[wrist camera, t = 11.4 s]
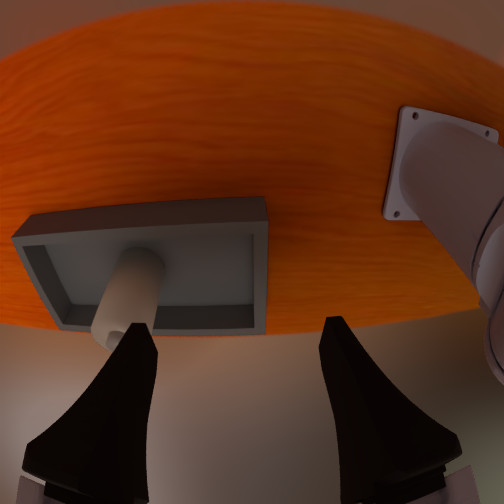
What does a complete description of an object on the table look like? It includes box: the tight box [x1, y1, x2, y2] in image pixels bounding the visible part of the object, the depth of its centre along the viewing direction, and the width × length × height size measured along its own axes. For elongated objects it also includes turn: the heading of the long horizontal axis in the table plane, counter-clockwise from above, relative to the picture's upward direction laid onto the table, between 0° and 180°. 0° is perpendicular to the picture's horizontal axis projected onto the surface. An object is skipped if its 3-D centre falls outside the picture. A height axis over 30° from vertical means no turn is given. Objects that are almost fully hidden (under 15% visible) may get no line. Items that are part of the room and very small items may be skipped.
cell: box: [91, 247, 165, 352], centre depth 18 cm, size 4×4×7 cm
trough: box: [11, 197, 268, 336], centre depth 20 cm, size 18×10×3 cm, turn 91°
